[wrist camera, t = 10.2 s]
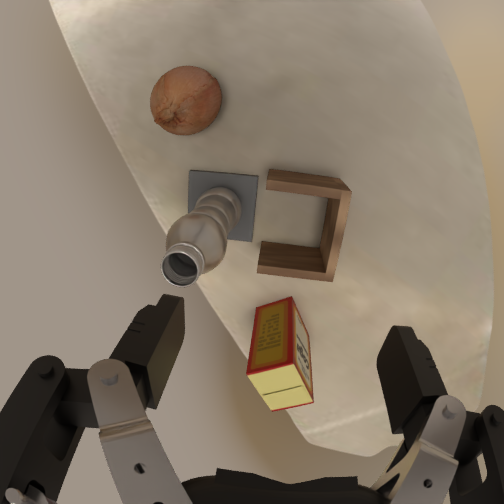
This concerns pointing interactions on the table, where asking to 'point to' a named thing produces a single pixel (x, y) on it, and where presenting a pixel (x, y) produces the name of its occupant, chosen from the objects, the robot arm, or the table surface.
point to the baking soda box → (281, 356)
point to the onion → (185, 100)
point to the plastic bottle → (200, 237)
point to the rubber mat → (235, 182)
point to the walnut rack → (324, 258)
